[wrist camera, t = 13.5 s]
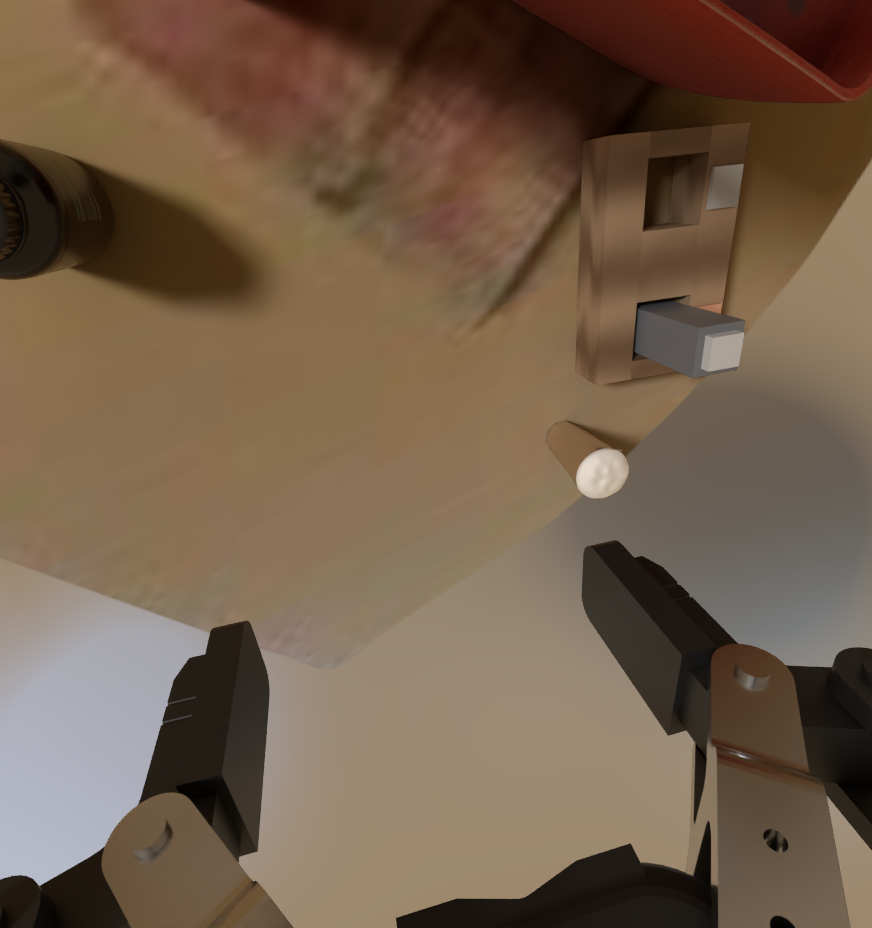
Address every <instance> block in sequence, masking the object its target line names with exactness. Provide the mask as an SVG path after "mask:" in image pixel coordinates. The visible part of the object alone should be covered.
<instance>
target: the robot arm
mask: <svg viewBox="0 0 872 928" xmlns="http://www.w3.org/2000/svg"><path fill="white" fill-rule="evenodd" d="M582 601H583V606H584V609H585V612H586V614H587V616H588V618H589V620H590V622H591V623H592V624H593V626H594V627H595V629H596V630H597V632H598V633H599V635H600V636H601V638H602V639H603V641H604V642H605V644H606V645H607V647H608V648H609V649H610V651H611V652H612V654H613V655H614V657H615V658H616V660H617V661H618V663H619V664H620V666H621V667H622V669H623V670H624V671H625V673H626V674H627V676H628V677H629V679H630V680H631V682H632V683H633V685H634V686H635V688H636V689H637V691H638V692H639V694H640V695H641V696H642V698H643V699H644V701H645V702H646V704H647V705H648V707H649V708H650V710H651V711H652V713H653V714H654V715H655V717H656V718H657V720H658V721H659V723H660V724H661V726H662V727H663V729H664V730H665V732H666V733H667V735H672V734H675V733H679V732H682V731H686V730H687V732H688V733H689V734H690V736H691V737H692V738H693V740H694V745H693V750H692V783H691V815H690V837H689V848H688V855H687V864H686V873H685V872H683V871H680V870H678V869H674V868H671V867H667V866H664V865H659V864H652V863H640V861H639V859H638V857H637V855H636V853H635V851H634V849H633V847H632V845H631V844H628V845H624V846H621V847H618V848H615V849H612V850H609V851H605V852H603V853H599V854H596V855H593V856H590V857H587V858H584V859H581V860H577V861H575V862H574V863H572V864H571V865H570V866H568V867H567V868H566V869H564V870H563V871H561V872H560V873H559V874H557V875H556V876H555V877H553V878H552V879H550V880H549V881H548V882H546V883H545V884H544V885H542V886H541V887H540V888H538V889H537V890H535V891H534V892H533V893H531V894H530V895H528V896H527V897H525V898H521V899H454V900H451V901H448V902H445V903H442V904H439V905H436V906H432V907H429V908H426V909H423V910H420V911H417V912H413V913H410V914H408V915H404V916H401V917H398V918H396V921H397V928H850V922H849V916H848V911H847V905H846V900H845V895H844V889H843V883H842V878H841V873H840V867H839V861H838V856H837V851H836V845H835V839H834V834H833V828H832V824H831V817H830V812H829V806H828V802H827V796H828V797H829V799H830V800H831V801H832V802H833V803H834V805H835V806H836V807H837V808H838V810H839V811H840V812H841V813H842V815H843V816H844V817H845V818H846V819H847V821H848V822H849V823H850V824H851V825H852V827H853V828H854V829H855V830H856V832H857V833H858V834H859V835H860V837H861V838H862V839H863V840H864V842H865V843H866V844H867V845H868V846H869V848H870V849H871V850H872V649H869V648H848V649H845V650H842V651H841V652H839V653H838V655H837V656H836V658H835V660H834V663H833V666H832V667H806V666H787V665H785V664H784V663H783V662H781V661H780V660H779V659H778V658H777V657H775V656H774V655H772V654H770V653H768V652H766V651H764V650H762V649H760V648H757V647H753V646H750V645H744V644H738V643H737V642H736V641H735V640H734V639H733V638H732V637H731V636H730V635H729V634H728V633H727V632H726V631H725V630H724V629H723V628H722V627H721V626H720V625H719V624H718V623H717V622H716V621H715V620H714V619H713V618H712V617H711V616H710V615H709V614H708V613H707V612H706V611H705V610H704V609H703V608H702V607H701V606H700V605H699V604H698V603H697V602H696V601H695V600H694V599H693V598H692V597H691V598H690V596H689V593H688V592H687V591H686V590H685V589H684V588H682V587H681V585H678V584H677V581H676V580H675V579H674V578H673V577H672V576H671V575H670V574H669V573H668V572H667V571H666V570H665V569H664V568H663V567H661V566H660V565H658V564H656V563H654V562H652V561H650V560H649V559H647V558H645V557H643V556H640V557H636V558H634V557H633V556H632V555H631V554H630V553H629V552H628V550H627V549H626V548H625V547H624V546H623V545H622V544H621V543H620V542H618V541H610V542H605V543H601V544H596V545H592V546H587V547H586V548H585V550H584V556H583V578H582ZM268 708H269V681H268V674H267V670H266V667H265V664H264V661H263V658H262V655H261V652H260V649H259V646H258V643H257V641H256V638H255V635H254V632H253V629H252V626H251V624H250V622H249V621H243V622H238V623H234V624H229V625H225V626H220V627H216V628H213V629H212V630H211V632H210V637H209V640H208V645H207V649H206V654H205V655H201V656H196V657H192V658H189V660H188V661H187V662H186V664H185V665H184V666H183V668H182V669H181V671H180V672H179V673H178V675H177V676H176V678H175V679H174V681H173V685H172V688H171V692H170V696H169V699H168V706H167V707H166V710H165V714H164V717H163V725H162V726H161V728H160V731H159V735H158V739H157V742H156V746H155V750H154V753H153V756H152V760H151V763H150V767H149V771H148V774H147V778H146V781H145V785H144V788H143V792H142V796H141V799H140V801H139V804H138V805H137V806H136V807H135V808H133V809H132V810H131V811H130V812H129V813H128V814H127V815H126V816H125V817H124V818H123V819H122V820H121V821H120V822H119V823H118V825H117V826H116V827H115V829H114V830H113V832H112V833H111V835H110V837H109V838H108V841H107V843H106V845H105V847H104V848H102V849H101V850H100V851H98V852H97V853H95V854H94V855H92V856H91V857H89V858H88V859H86V860H84V861H82V862H81V863H79V864H77V865H75V866H74V867H72V868H70V869H69V870H67V871H65V872H63V873H62V874H60V875H58V876H56V877H54V878H53V879H51V880H49V881H48V882H46V883H44V884H42V885H41V886H39V885H38V884H37V883H36V882H35V881H34V880H33V879H32V878H29V877H27V876H21V875H20V876H11V877H8V878H4V879H1V880H0V928H293V926H292V925H291V924H290V922H289V921H288V920H287V919H286V917H285V916H284V915H283V913H282V912H281V911H280V909H279V908H278V907H277V905H276V904H275V903H274V902H273V900H272V899H271V898H270V896H269V895H268V894H267V893H266V891H265V890H264V889H263V888H262V887H261V886H260V885H259V884H258V882H256V881H254V882H253V881H252V880H251V879H250V877H249V876H248V875H247V874H246V872H245V871H244V870H243V868H242V867H241V866H240V864H239V857H240V856H243V855H246V854H250V853H253V852H257V851H258V838H259V825H260V812H261V800H262V786H263V774H264V761H265V748H266V735H267V721H268ZM826 795H827V796H826Z"/></svg>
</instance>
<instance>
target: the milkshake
mask: <svg viewBox="0 0 872 928" xmlns="http://www.w3.org/2000/svg"><path fill="white" fill-rule="evenodd" d="M546 443H547V445H548V447H549V449H550V450H551V452H552V453H553V454H554V456H555V457H556V458H557V459H558V461H559V462H560V463H561V465H562V466H563V467H564V469H565V470H566V471H567V473H568V474H569V476H570V477H571V478H572V480H573V481H574V483H575V484H576V486H577V487H578V489H579V490H580V491H581V492H582V493H583V494H584V495H586V496H588V497H590V498H604V497H607V496H609V495H611V494H613V493H615V492H617V491H618V490H619V489H621V487H622V486H623V484H624V483H625V481H626V479H627V477H628V474H629V465H628V462H627V460H626V458H625V456H624V455H623V454H622V453H621V452H620V451H618V450H620V449H614V448H612V447H611V446H609V445H607V444H605V443H604V442H602V441H600V440H598V439H597V438H595V437H594V436H592V435H591V434H589V433H587V432H586V431H584V430H583V429H581V428H580V427H578V426H576V425H575V424H573V423H570V422H568V421H562V422H559V423H555V424H554V425H553V426H552V427H551V428H550V429H549V431H548V433H547V437H546Z"/></svg>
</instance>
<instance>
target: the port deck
mask: <svg viewBox="0 0 872 928" xmlns="http://www.w3.org/2000/svg"><path fill="white" fill-rule="evenodd" d="M750 126H751V122H747V123H736V124H726V125H715V126H704V127H694V128H683V129H673V130H662V131H651V132H641V133H630V134H620V135H609V136H605V137H601V138H596V139H592V140H588V141H583V148H582V180H581V213H580V245H579V278H578V310H577V343H576V373H578V374H579V375H581V376H583V377H584V378H586V379H587V380H589V381H591V382H592V383H594V384H595V385H602V384H608V383H614V382H620V381H626V380H631V379H637V378H643V377H649V376H655V375H661V374H666V373H672V372H678V371H675V370H673V369H671V368H669V367H667V366H664V365H662V364H660V363H658V362H655V361H653V360H651V359H649V358H647V357H644V356H642V355H640V354H638V353H635V352H633V343H634V331H635V319H636V307H637V303H639V302H646V301H652V300H659V299H666V300H670V301H674V302H678V303H682V304H685V305H689V306H693V307H697V308H701V309H704V310H708V311H712V312H716V313H720V314H721V312H722V305H723V299H724V292H725V286H726V280H727V273H728V267H729V260H730V254H731V248H732V241H733V235H734V228H735V222H736V215H737V209H738V203H739V196H740V190H741V183H742V177H743V171H744V164H745V158H746V151H747V145H748V139H749V132H750ZM665 157H675V161H674V171H673V181H672V191H671V200H670V210H669V220H668V223H665V224H657V225H649V226H643V221H644V209H645V197H646V185H647V172H648V160H649V159H655V158H665Z"/></svg>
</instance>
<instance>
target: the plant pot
mask: <svg viewBox="0 0 872 928" xmlns="http://www.w3.org/2000/svg"><path fill="white" fill-rule="evenodd" d="M511 1H513V2H514V3H516V4H518V5H519V6H521V7H523V8H524V9H526V10H528V11H530V12H531V13H533V14H535V15H536V16H538V17H540V18H541V19H543V20H545V21H546V22H548V23H550V24H551V25H553V26H555V27H556V28H558V29H560V30H561V31H563V32H565V33H567V34H568V35H570V36H572V37H573V38H575V39H577V40H578V41H580V42H582V43H583V44H585V45H587V46H588V47H590V48H592V49H593V50H595V51H597V52H599V53H600V54H602V55H604V56H605V57H607V58H609V59H610V60H612V61H614V62H615V63H617V64H619V65H621V66H622V67H624V68H626V69H627V70H629V71H631V72H632V73H634V74H635V75H637V76H639V77H642V78H645V79H647V80H650V81H653V82H656V83H659V84H662V85H666V86H669V87H673V88H676V89H681V90H685V91H689V92H694V93H698V94H703V95H708V96H715V97H721V98H728V99H739V100H750V101H761V102H789V103H835V102H849V101H854V100H857V99H859V98H860V97H862V96H863V95H865V94H866V93H867V92H868V91H869V90H870V88H871V87H872V0H511Z"/></svg>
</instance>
